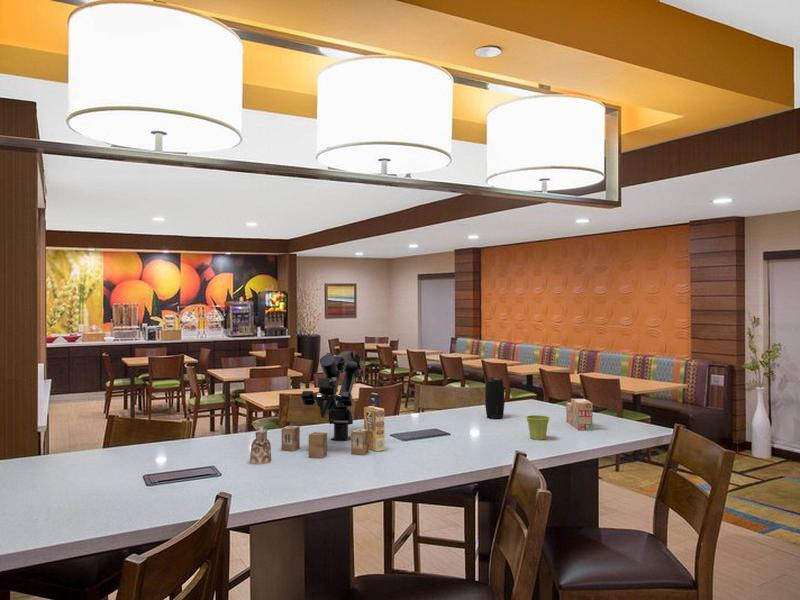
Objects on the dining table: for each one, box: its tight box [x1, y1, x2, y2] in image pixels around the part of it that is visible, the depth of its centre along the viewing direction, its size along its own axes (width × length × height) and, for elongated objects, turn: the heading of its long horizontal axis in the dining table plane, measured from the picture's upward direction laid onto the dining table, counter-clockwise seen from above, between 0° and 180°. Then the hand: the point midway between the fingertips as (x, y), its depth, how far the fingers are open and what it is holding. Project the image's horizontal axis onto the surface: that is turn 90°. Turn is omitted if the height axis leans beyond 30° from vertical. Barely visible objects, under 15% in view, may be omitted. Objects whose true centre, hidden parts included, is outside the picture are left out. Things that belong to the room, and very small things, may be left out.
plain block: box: [308, 431, 328, 459], centre depth 210 cm, size 5×5×8 cm
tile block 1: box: [281, 425, 301, 452], centre depth 221 cm, size 5×5×8 cm
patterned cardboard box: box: [565, 398, 594, 432], centre depth 268 cm, size 21×6×12 cm, turn 178°
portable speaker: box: [484, 376, 505, 420], centre depth 290 cm, size 9×9×20 cm
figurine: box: [249, 424, 272, 465], centre depth 202 cm, size 7×7×12 cm
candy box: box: [363, 405, 386, 452], centre depth 222 cm, size 9×4×15 cm, turn 33°
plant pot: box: [525, 414, 551, 441], centre depth 241 cm, size 9×9×9 cm
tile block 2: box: [350, 428, 370, 456], centre depth 215 cm, size 5×5×8 cm
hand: (322, 417), depth 215 cm, fingers closed
